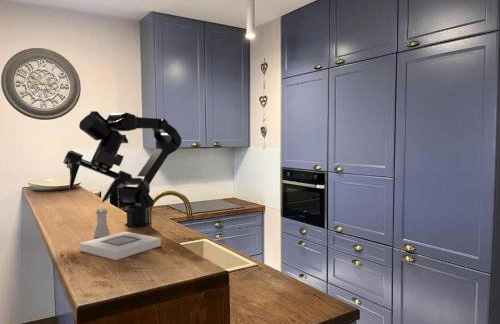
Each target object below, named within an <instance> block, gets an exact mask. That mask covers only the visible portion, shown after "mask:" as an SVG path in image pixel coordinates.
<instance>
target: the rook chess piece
mask: <svg viewBox="0 0 500 324" xmlns="http://www.w3.org/2000/svg"><path fill="white" fill-rule="evenodd" d="M107 213H108V210H107V208H98V209H96V211H95V214H96V216H97V217H96V220H97V221H96V226H95V229H94V230H93V234H94V235H93V236H94V239H98V238H102V237H106V236H110V235H111V233H110V232H111V230H110V229H109V227H108V222H107V218H108V217H107Z"/></svg>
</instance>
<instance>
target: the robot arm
mask: <svg viewBox="0 0 500 324" xmlns="http://www.w3.org/2000/svg"><path fill="white" fill-rule="evenodd" d="M79 129H80V130H81V131H82V132H83V133H85V134H86V135H88V136H89V137H90V138H91V139H93V140H94V141H100V142H99V143H98V146H97V148H96V149H95V151H94V155H93V156H92V159H91V160H90V161H88V160H86V159H83V156H84V155H83V154H81V153H79V152H76V151H74V150H69V151H67V152H66V155H65V157H64V159H63V162H62V163H63V164H64V165H66V168H67V169H69V187H68V188H69V189H68V190H69V191H72V189H73V186H74V184H75V181H76V178H77V174H78V171H79V169H80V166H81V167H83V168H85V169H88V170H92V171H94V172H96V173H99V174H101V175H104V176H107V177H109V178H112V179H114V180H113V181H112V183H110V185H109V187H108V189H107V191H106V193H105V194H104V197H103V198H102V200H101V203H104V202H105V201H106V200H107V199H108V198H109V197H110V195H112V193H113V192H114V191H115V190H116V189H117V188H119V189H120V188H121V189H120V192H119V193H120V195H119V196H120V198H121V202H122V205H123V207H127V212H126V223H124V226H127V227H132V228H133V227H134V228H140V227H144V226H149V225H152V224H153V222H152V221H149V220H150V217H149V215H150V214H149V211H150V210H149V208H151V207H153V206H154V201H155V200H154V199H153V198H152V197H151V195H150V191H151V187H150V186H151V185H150V184H151V182H152V181H153V179H154V178H155V176H156V175H157V173H158V171H159V170H160V169H161V167H162V165H163V164H164V162H165V161H166V159H167V157H168V156H169V155H171V154H173V153H174V152H176V151H177V150H178V149H179V148H180V147H181V145H182V137H181V135H180V134H179V132H178V130H177V129H176V128H175V127H173V126H172V125H171V124H169V122H168V121H167V119H165V118H163V117H159V118H154V117H153V118H152V117H140V116H137V115H135V114H132V113H130V112H115V113H110V114H108V116H107V118H104V117H103V116H102V115H101V113H100V112H98V111H97V110H93V111H92V110H91V111H90V113H89V114H87V115H85V117H84V118H83V119H81V120H80V122H79ZM137 129H142V130H143V129H146V130H148V129H149V130H150V129H151V130H153V138H154V139H155V140H156V141H155V149H154V151H153V152H152V154H151V156H150V157H149V158H148V159H147V161H146V163H144V165H143V167H142V168H141V170H140V171H139V173H138V174H137V175H136V176H135V177H133V175H132V174H131V173H128V172H126V171H123V170H119V171H118V172H116V171H114V170H111V169H112V168H113V167H114V165H115V166H118V167H120V166H121V165H122V162H123V160H124V158H125V156H124V155H122V154H119V152H118V151H120V150H119V149H120V148H121V145H122V144H129V140H128V138H127V134H122V133H121V132H131V131H135V130H137ZM160 130H162V131H163V132H161V131H160Z"/></svg>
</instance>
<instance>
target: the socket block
mask: <svg viewBox="0 0 500 324" xmlns="http://www.w3.org/2000/svg"><path fill="white" fill-rule="evenodd" d="M161 242H162V241H161V237H155V236H150V235H144V234H139V233H136V232H135V233H134V232H128V231H122V232H119V233H118V232H117V233H114V234H110V235H109V236H106V237H102V238H94V239H90V240H86V241H82V242H79V251H80V252H84V253H86V254H91V255H95V256H99V257H102V258H106V259H108V260H109V259H110V260H114V261H117V260H120V259H125V258H127V257H130V256H133V255H136V254H139V253H143V252H145V251H149V250H152V249H155V248H158V247H161V244H162V243H161Z"/></svg>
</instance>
